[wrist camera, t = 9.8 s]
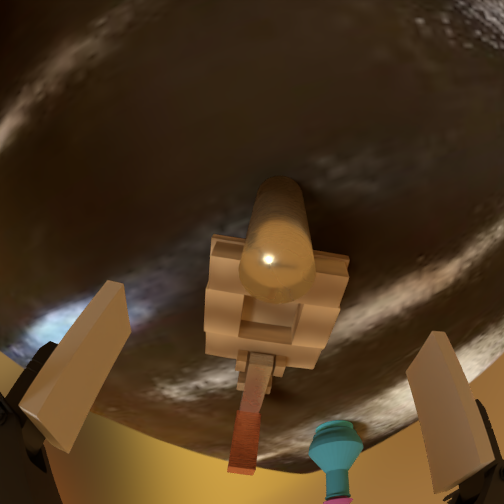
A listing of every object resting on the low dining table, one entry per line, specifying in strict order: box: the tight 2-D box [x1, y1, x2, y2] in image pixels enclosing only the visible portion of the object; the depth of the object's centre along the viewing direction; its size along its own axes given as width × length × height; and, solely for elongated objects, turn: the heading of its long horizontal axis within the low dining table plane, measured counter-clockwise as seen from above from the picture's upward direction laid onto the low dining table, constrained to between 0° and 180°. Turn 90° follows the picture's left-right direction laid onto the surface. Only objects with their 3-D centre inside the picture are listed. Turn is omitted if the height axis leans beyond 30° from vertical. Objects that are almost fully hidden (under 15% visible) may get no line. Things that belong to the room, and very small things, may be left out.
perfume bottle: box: [309, 420, 363, 504], centre depth 38 cm, size 9×9×15 cm
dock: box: [204, 234, 350, 394], centre depth 31 cm, size 18×13×5 cm
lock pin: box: [227, 353, 274, 475], centre depth 29 cm, size 12×3×10 cm, turn 173°
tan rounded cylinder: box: [238, 176, 316, 304], centre depth 21 cm, size 4×4×12 cm
